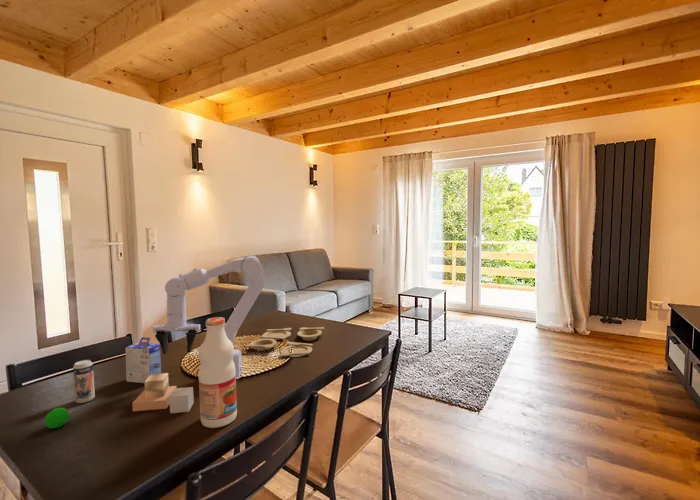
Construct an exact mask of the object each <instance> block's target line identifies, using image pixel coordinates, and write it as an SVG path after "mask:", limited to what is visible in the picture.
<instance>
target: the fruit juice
mask: <svg viewBox="0 0 700 500" xmlns="http://www.w3.org/2000/svg"><path fill="white" fill-rule="evenodd" d="M225 319H226V318H225V317H222V316H220V317H219V316H216V317H211V318H207V319H206V320H205V327H206V335H205V337H204V341H203V342H202V344H201V345H200V346H199V347H198V352H197V353H198V354H197V356H198V359H199V362H200V366H199V368H198V388H199V389H198V391H199V392H198V393H199V395H198V396H199V417H200V419H199V420H200V422H201V425H202V426H203V427H205V428H210V429H216V428H221V427H224V426H227V425H229V424H230V423H232V422H233V421H235V419H236V417H237V414H238V406H237V405H238V404H237V403H238V401H237V379H236V370H235V364H234V362H233V355H234V349H235V346H234V343H233V342H231V341H230V340H229V339H228V337H227V336H226V333H225V330H224V325H225V324H226V320H225Z"/></svg>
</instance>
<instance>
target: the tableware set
mask: <svg viewBox="0 0 700 500" xmlns="http://www.w3.org/2000/svg"><path fill="white" fill-rule="evenodd" d="M291 330H292V327H285V328H284V327H283V328H275V329H274V328H272V329H271V328H270V329H269V328H268V329H266V332H264V333H263V334H262V336H261V338H258V339H255V340H253V341H251V342H250V343H249V344H245V345H244V348H251V349H254V351H256V350H257V351H256V352H259V351H264V352H266V351H265V350H268V351H270V350H272V348H273V347H276V345H277V344H278V343H277V342H278V341H280V339H281V340H286V339H287V338H289V337H291V335H292V332H291ZM323 330H325V327H323V326H321V327H304V326H303V327H300V328H299V331H298V332H297V333H296V334H297V336H298V337H300V338H302V340H303V341H305V342H306V341H314V340H317V339H318V337H319V336H321V335H322V333H323ZM313 345H314V344H312V343H303V342H293V341H288V342H287V346H285V347H283V348H281V349H280V354H279V357H287V356H290V357H289V358H300V357H305V356H308V355H310V354H311V353H312V351H313ZM289 348H293V353H286V350H287V349H289ZM269 349H270V350H269Z"/></svg>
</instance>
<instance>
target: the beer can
mask: <svg viewBox="0 0 700 500" xmlns="http://www.w3.org/2000/svg"><path fill="white" fill-rule="evenodd" d="M72 369H73V384H74V395H75V396H74V397H75V403H77V404H85V403H88V402H90V401H92V400H93V399H94V398H95V397H96V394H95V393H96V392H95V378H94V377H95V375H94V363H93V362H92V361H91V359H83V360H79V361H76V362H75V363H74V365H73V367H72Z"/></svg>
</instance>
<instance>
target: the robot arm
mask: <svg viewBox="0 0 700 500" xmlns="http://www.w3.org/2000/svg"><path fill="white" fill-rule="evenodd" d="M231 272H234V273H235V272H236V273H239V274H240V273H241V272H243V274H244V275H245V276H246V277H247V280H248V283H249V285H248V286H247V288H246V290H245V292H244V293H243V295H242V296H241V298H240V299H239V301H238V303H237V304H236V307H235V308H234V310H233V311H232V313H231V315H230V316H229V318H228V319H227V322H225V325H224V330H225V333H226V336H227V337H228V339H229V340H230V341H231V342H232V343H233V341H234V340H235V338H236V336H237V333H238V330H239V329H240V328H241V325H242V324H243V322H244V321H245V319H246V317H247V316H248V314H249V312H250V311H251V309H252V307H253V305H254V303H255V302H256V300H257V299H258V297H259V295H260V294H261V292H262V290H263V289H264V287H265V281H264V280H265V279H264V268H263V266H262V263H261V261H260V260H259V258H258V257H257V256H255V255H251V254H250V255H247V256H245V257H244V256H243V257H242V256H241V257H238V258H235V259H231V260H229V261H226V262H224V263H222V264H219V265H216V266H214V267H211V268H209V269H204V268H202V267H201V268H198V267H195V268H193V269H192V271H189V272H186V273H184V274H183V273H180V274H178V276H174V277H172V278H170V279H169V280H168V281H167V282H166V284H165V285H164V289H165V292H166V321H167V322H166V323H167V324H159V325H154V326H152V333H153V334H155V335H154V336H155V337H154V338H155V339H156V340H157V342H158V344H160V349H161V351H162V354H163V355H166V354H167V352H168V349H169V348H168V340H169V339H168V336H169V332H170V333H171V332H173V333H174V332H187V333H185V336H186V343H187V347H186V348H187V351H186V352H187V353H188V354H190V353H191V352H192V348H193V345H194V344H193V343H194V341H195V338H196V336H197V334H198V332H200V331H201V324H200V323H198V324H196V323H187V300H186V299H187V298H186V291H191V290H194V289H197V288H199V287H201V286H204V285H207V284H208V283H209V281H210V279H212V278H217V277H219V276H223V275H225V274H228V273H231ZM233 362H234V364H235V370H236V380H239V379H240V376H241V373H242V371H243V369H242V368H243V366H242V363H243V362H242V350H239V349H235V348H234V355H233Z"/></svg>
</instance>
